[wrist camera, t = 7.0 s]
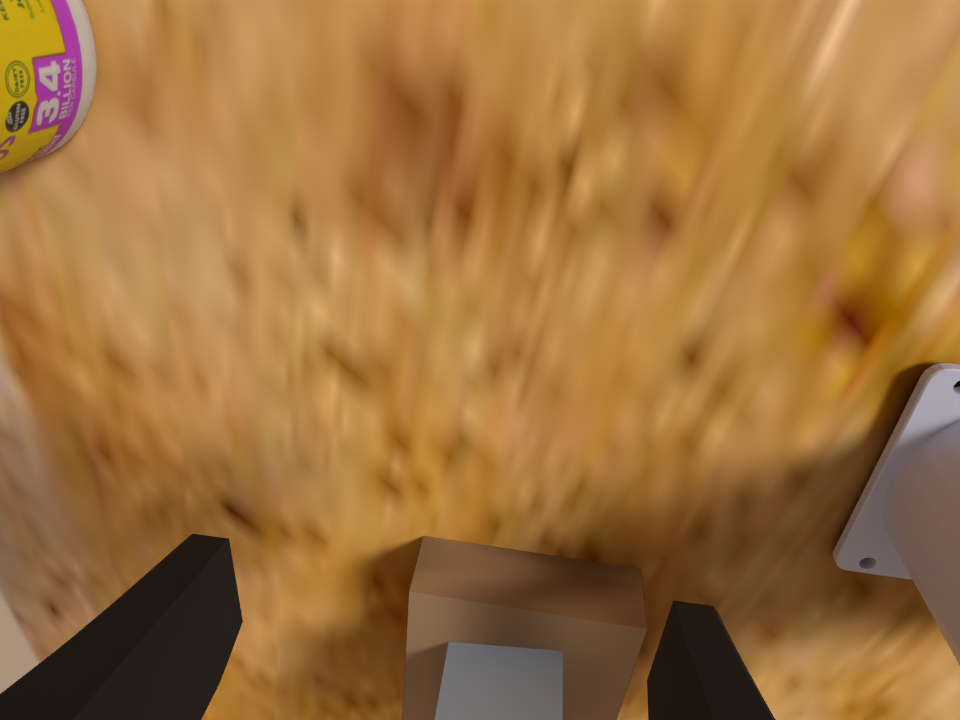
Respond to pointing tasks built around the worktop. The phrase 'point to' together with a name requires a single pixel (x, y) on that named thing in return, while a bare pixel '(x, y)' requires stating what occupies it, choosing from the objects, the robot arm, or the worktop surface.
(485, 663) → the gray block
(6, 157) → the supplement bottle
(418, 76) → the worktop surface
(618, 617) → the walnut block
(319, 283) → the worktop surface
